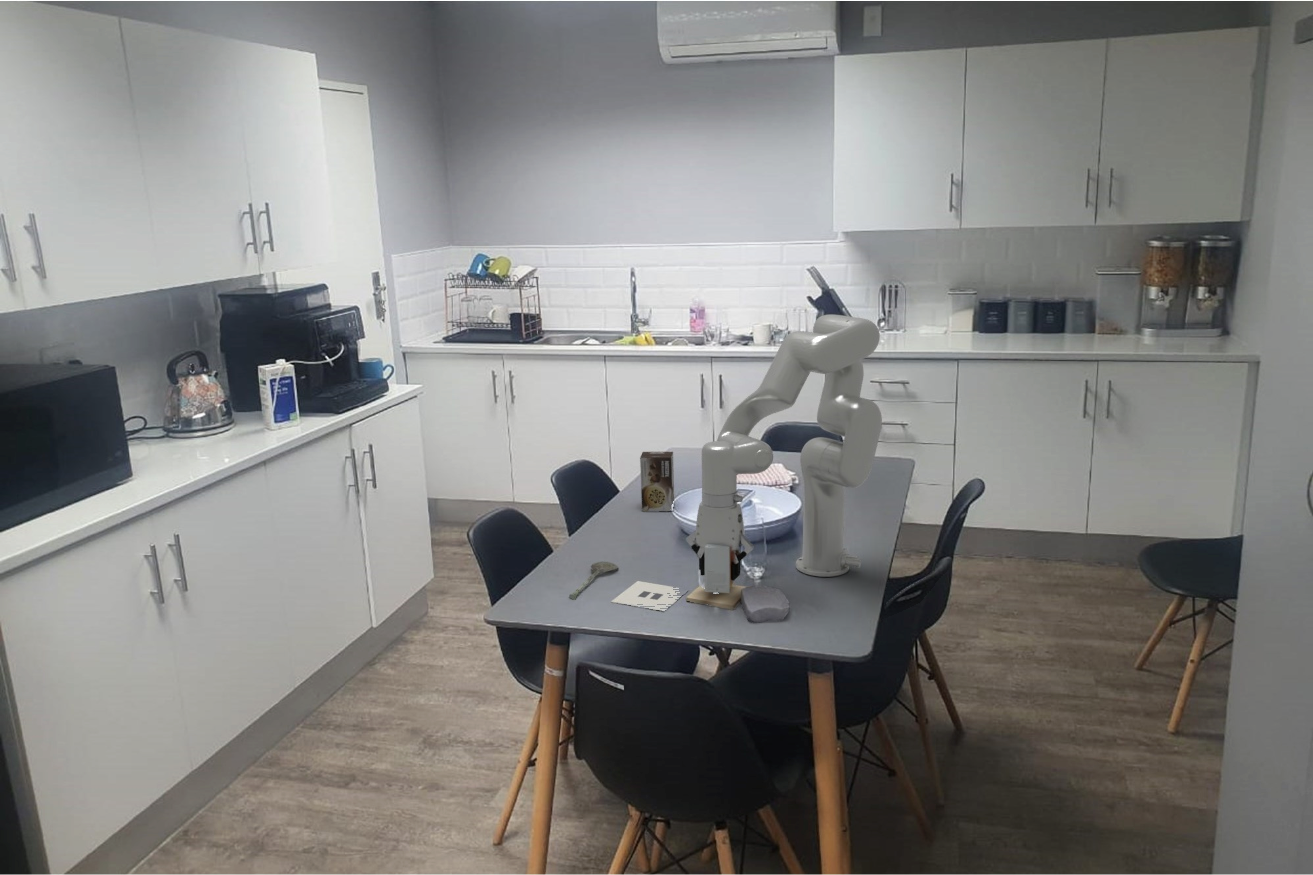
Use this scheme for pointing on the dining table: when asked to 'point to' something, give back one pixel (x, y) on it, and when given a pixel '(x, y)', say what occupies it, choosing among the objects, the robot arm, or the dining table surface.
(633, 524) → the dining table surface
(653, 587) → the cream tile
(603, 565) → the soupspoon
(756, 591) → the stone block
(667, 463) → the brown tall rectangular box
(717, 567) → the small box
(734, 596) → the wooden board
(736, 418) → the robot arm
